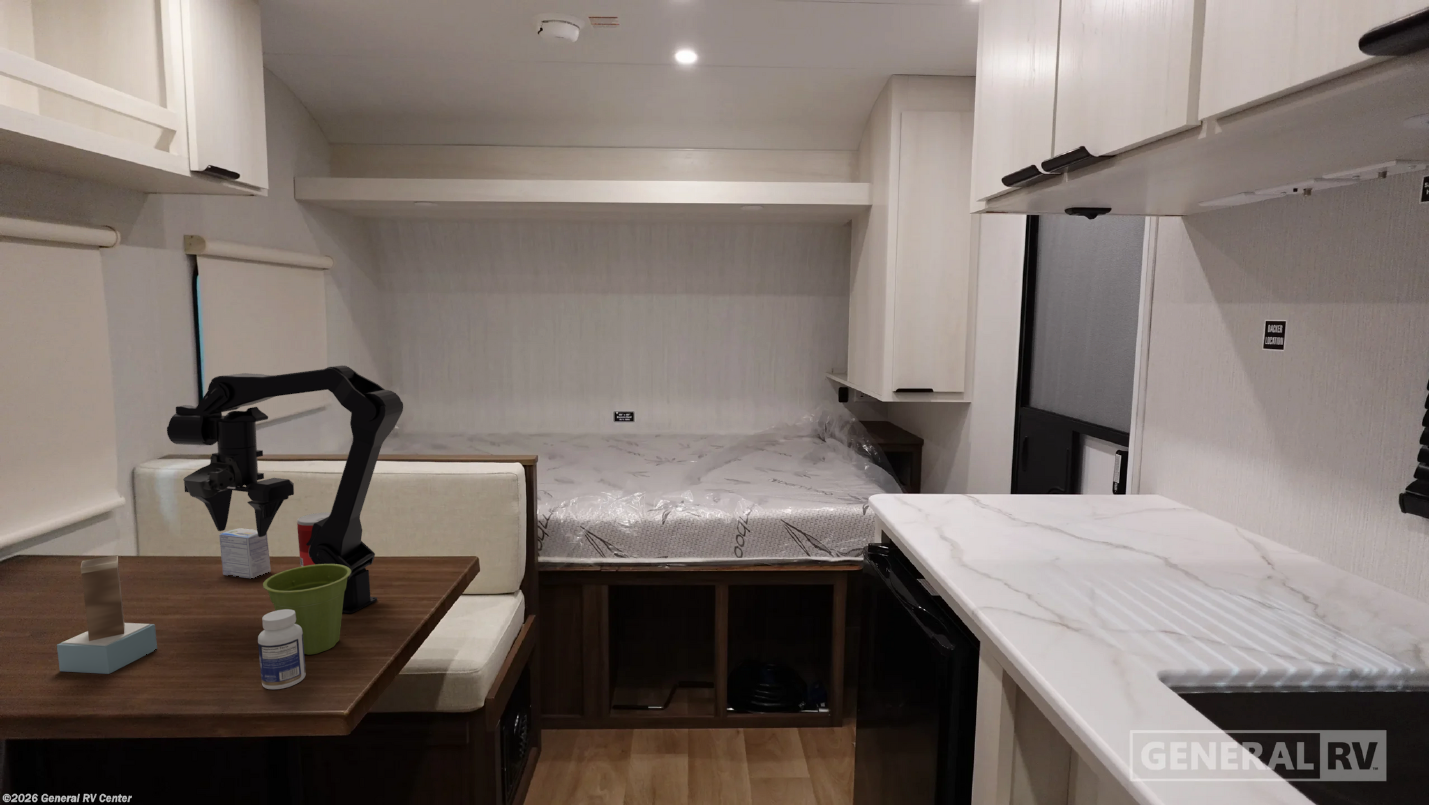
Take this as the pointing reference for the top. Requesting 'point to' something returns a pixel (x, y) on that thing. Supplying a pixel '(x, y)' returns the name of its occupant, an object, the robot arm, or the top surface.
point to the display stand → (107, 650)
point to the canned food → (307, 535)
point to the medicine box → (244, 553)
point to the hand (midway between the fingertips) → (241, 533)
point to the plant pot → (312, 601)
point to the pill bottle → (281, 650)
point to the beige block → (102, 597)
